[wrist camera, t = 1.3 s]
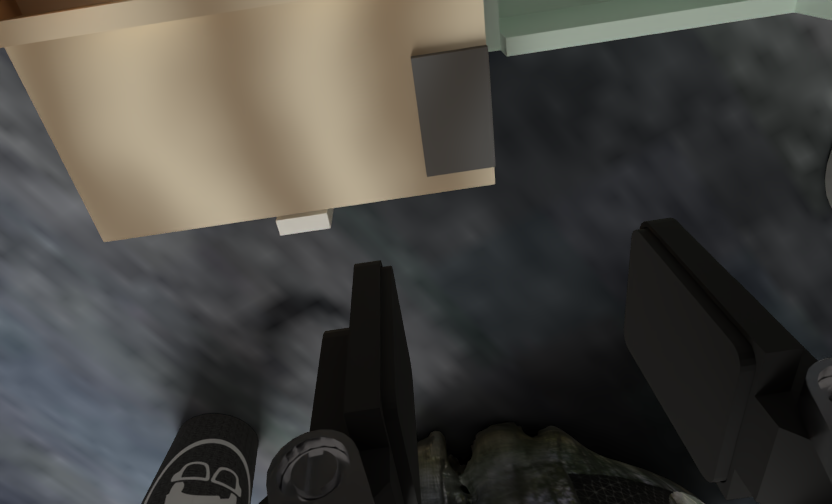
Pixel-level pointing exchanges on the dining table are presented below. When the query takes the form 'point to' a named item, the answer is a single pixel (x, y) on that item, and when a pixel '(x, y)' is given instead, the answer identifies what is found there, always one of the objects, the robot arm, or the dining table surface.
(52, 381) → the dining table surface
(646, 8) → the bin
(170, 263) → the dining table surface
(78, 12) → the beige flat panel
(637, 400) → the dining table surface
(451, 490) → the basket
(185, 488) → the coffee cup
